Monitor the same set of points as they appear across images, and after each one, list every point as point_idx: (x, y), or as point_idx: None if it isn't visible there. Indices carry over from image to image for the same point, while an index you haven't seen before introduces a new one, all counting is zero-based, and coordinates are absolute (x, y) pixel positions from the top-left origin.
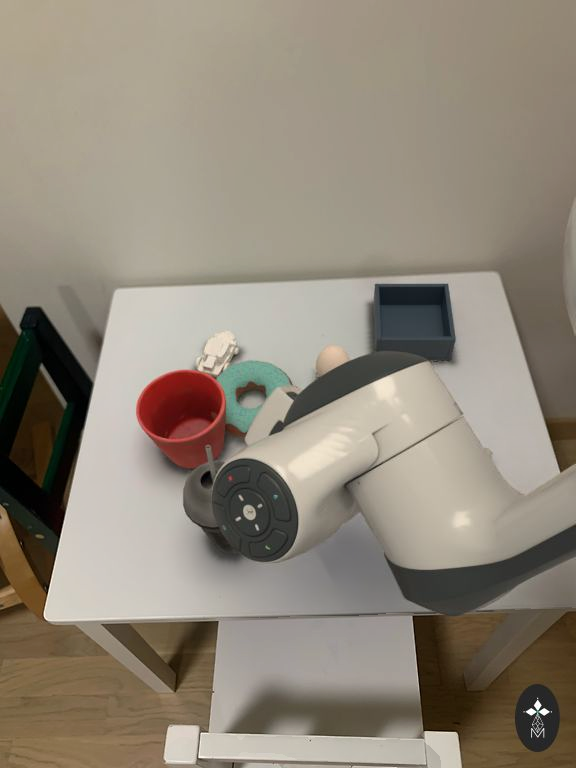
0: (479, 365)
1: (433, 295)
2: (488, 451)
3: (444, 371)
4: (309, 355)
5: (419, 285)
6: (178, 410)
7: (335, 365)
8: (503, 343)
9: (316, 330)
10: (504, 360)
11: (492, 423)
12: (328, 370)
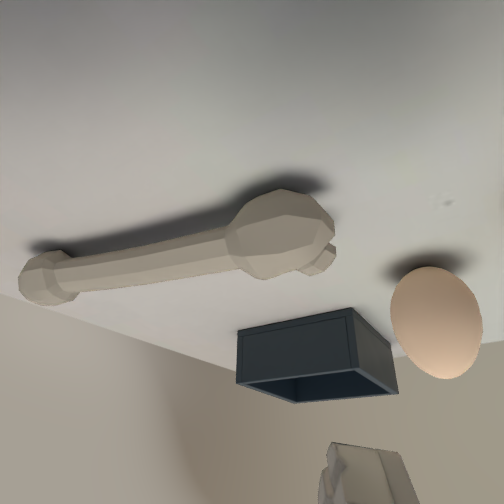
0: (197, 334)
1: (307, 381)
2: (44, 305)
3: (234, 321)
4: (492, 282)
5: (330, 399)
6: None
7: (431, 350)
8: (192, 351)
9: (484, 308)
10: (175, 343)
11: (111, 300)
12: (446, 332)
